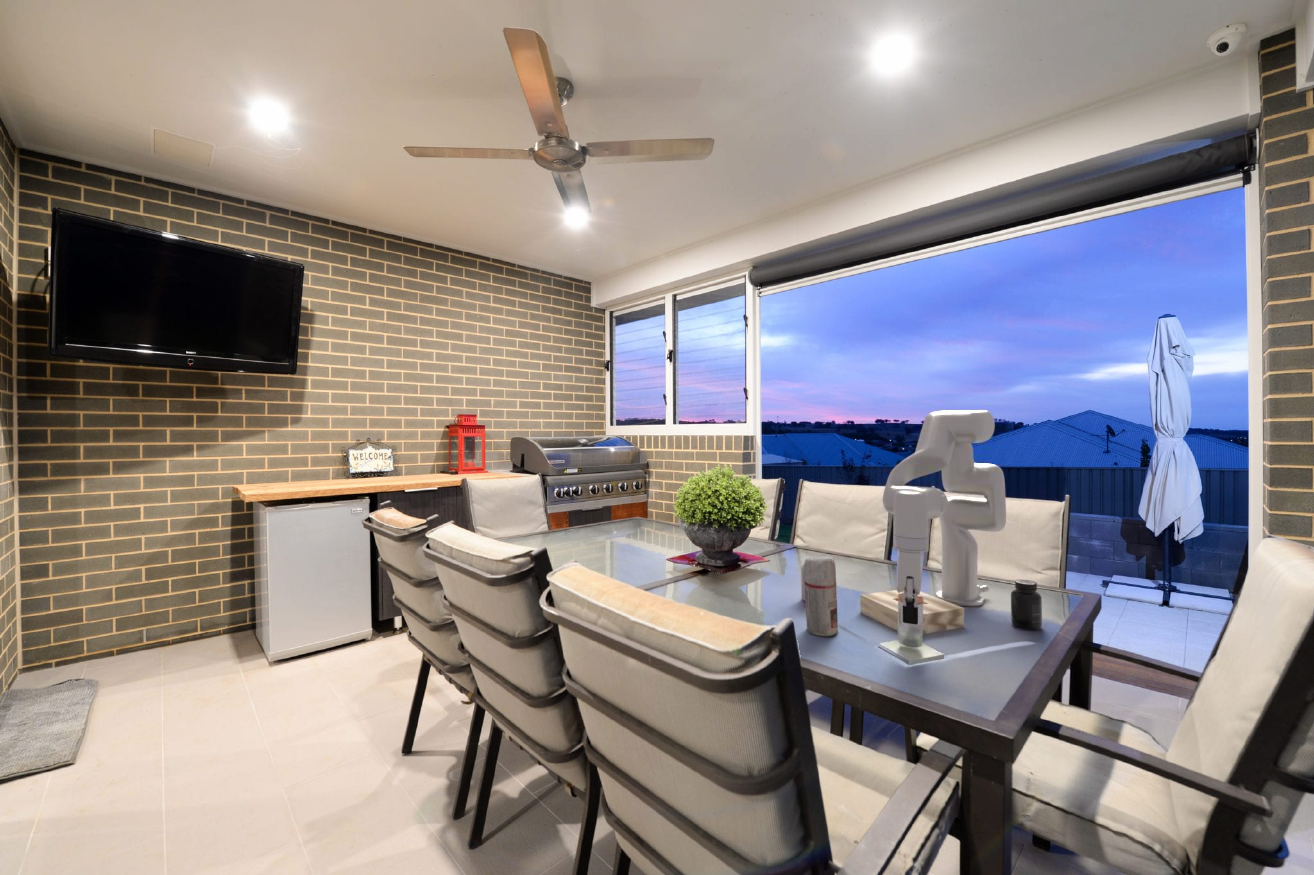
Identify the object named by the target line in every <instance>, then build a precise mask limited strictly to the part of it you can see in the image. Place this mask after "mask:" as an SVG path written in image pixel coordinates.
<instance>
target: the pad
mask: <svg viewBox="0 0 1314 875" xmlns="http://www.w3.org/2000/svg"><path fill="white" fill-rule="evenodd" d="M877 644H878V646H877V648H879V649H880V650H882V651H884V652H886V653H888V654H889V655H891V656H893V657H895V658H896V659H898V660H900V661H901V662H904V663H905V664H907V665H908V666H911V665H916V664H922V663H928V662H933V661H938V660H939V661H940V660H944V659H945V653H943V652H940V651H938V650H937V649H934V648H932V647H931V646H929V645H926V644H925V643H923V645H922V646H921V647H909V646H905V645H902V644H900V643H899V642H898V639H896V640H890V641H884V642H880V643H877ZM879 645H880V646H879ZM881 646H882V647H884V648H885V649H884V648H882V647H881ZM886 649H887V650H886ZM888 650H889V651H891V652H889V651H888ZM892 652H893V653H895V654H896V655H895V654H893V653H892ZM897 655H898V656H900V657H898V656H897ZM901 657H902V658H904V659H905V660H904V659H902V658H901Z"/></svg>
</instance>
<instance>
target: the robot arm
mask: <svg viewBox="0 0 1314 875" xmlns="http://www.w3.org/2000/svg"><path fill="white" fill-rule="evenodd" d="M995 426H996V424H995V419H994V416H993V415H992V413H991V412H990V411H988V410H982V409H981V410H980V409H979V410H976V409H975V410H939V411H932V412H929V413H927V414H926V415H925V417H924V420H923V424H922V428H921V430H920V434H919V437H918V440H917V445H916V448H915V452H914V453H912V454H911V455H909V456H907V457H906V458H904V459H903V460H901V461H900V462H899V463H898V464H897V465H895V466H894V468H893V469H892V470H891V471H890V473H889V475H888V477H887V481H886V483H885V487H884V489H883V495H882V505H883V508H884V509H885V511H886V512H887V513H889V514H891V515H893V516H892V517H893V520H892V521H893V533H892V534H893V536H892V537H893V540H892V542H893V546H892V547H893V549H894V550H896V551H897V560H896V561H897V568H896V569H897V574H896V576H897V579H896V582H897V583H896V585H897V586H896V590H897V592H898V593H900V592H903V590H904V605H903V622H904V623H909V624H915V625H917V624H918V607H917V595H919V594H920V591H921V588H922V582H923V566H924V565H923V563H924V562H923V560H924V553H927V552H929V550H930V549H929V546H930V545H929V540H930V538H929V536H930V534H929V530H930V527H929V519H930V520H931V519H932V520H933V519H938V518H939V524H940V529H941V590H938V591H936V593H935V597H936V598H939V599H942V600H944V601H947V602H949V603H952V604H955V605H957V606H960V607H978V606H981V605H983V604H984V598H983V597H982V596H980V594H982V593H987V592H989V587H988V585H985V584H984V585H978V558H979V557H978V556H979V554H978V550H979V549H978V542H977V540H976V538H975V537H974V535H973V534H972V532H970V530H972V531H973V530H975V531H980V532H981V531H982V532H983V531H984V532H989V533H990V532H991V533H992V532H993V533H996V532H998V533H999V532H1000V531H1002V530H1004V528H1005V526H1006V522H1007V507H1006V506H1007V501H1006V483H1005V475H1004V471H1003V469H1002V468H1001V467H1000V466H998V465H996V464H992V463H979V462H978V463H977V462H975V460H974V448H973V445H972V444H981V443H984V442H988V441H989V440H990V439H991V438H992V437H993V434H994V432H995V428H996V427H995ZM940 471H941V481H942V486H943V488H944V491H946V492H948V493H950V494H954V495H955V494H956V495H965V496H947V495H946V494H945V492H944V491H943V490H941V489H940V488H936V487H931V486H929V487H928V486H918V485H917V486H915V485H906V484H907V483H909V482H911V481H912V480H914V479H917V478H920V477H924V476H928V475H930V474H934V473H937V472H940ZM967 496H968V497H967ZM969 496H976V497H969ZM980 497H983V498H980ZM906 595H907V597H906ZM913 596H914V598H913Z"/></svg>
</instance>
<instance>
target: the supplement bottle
mask: <svg viewBox="0 0 1314 875" xmlns="http://www.w3.org/2000/svg"><path fill="white" fill-rule="evenodd" d="M1014 588H1015V589H1013V590H1012V591H1011V592H1010V621H1011V625H1012V626H1013V625H1014V627H1015V628H1017V629H1021V630H1025V631H1032V632H1033V631H1034V632H1035V631H1039V630H1042V628H1043V598H1042V595H1041V594H1040V593H1039V592H1037V591H1038V583H1037V582H1036V581H1035V580H1029V579H1015V580H1014Z"/></svg>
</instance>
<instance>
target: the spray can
mask: <svg viewBox="0 0 1314 875" xmlns="http://www.w3.org/2000/svg"><path fill="white" fill-rule="evenodd" d="M804 562H805V566H804V582H805V599H806V602H805V614H806V617H805V618H806V621H805V622H806V631H807V632H808V633H809V634H812V635H814V636H818V637H832V636H835V635H837V634H838V632H839V628H838V626H839V625H838V624H839V623H838V622H839V620H838V603H837V602H838V596H837V573H836V572H837V571H836V562H835V560H834V557H832V556H831V555H830V554H822V555H819V556H817V557H811V558H806V559H805V561H804Z"/></svg>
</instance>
